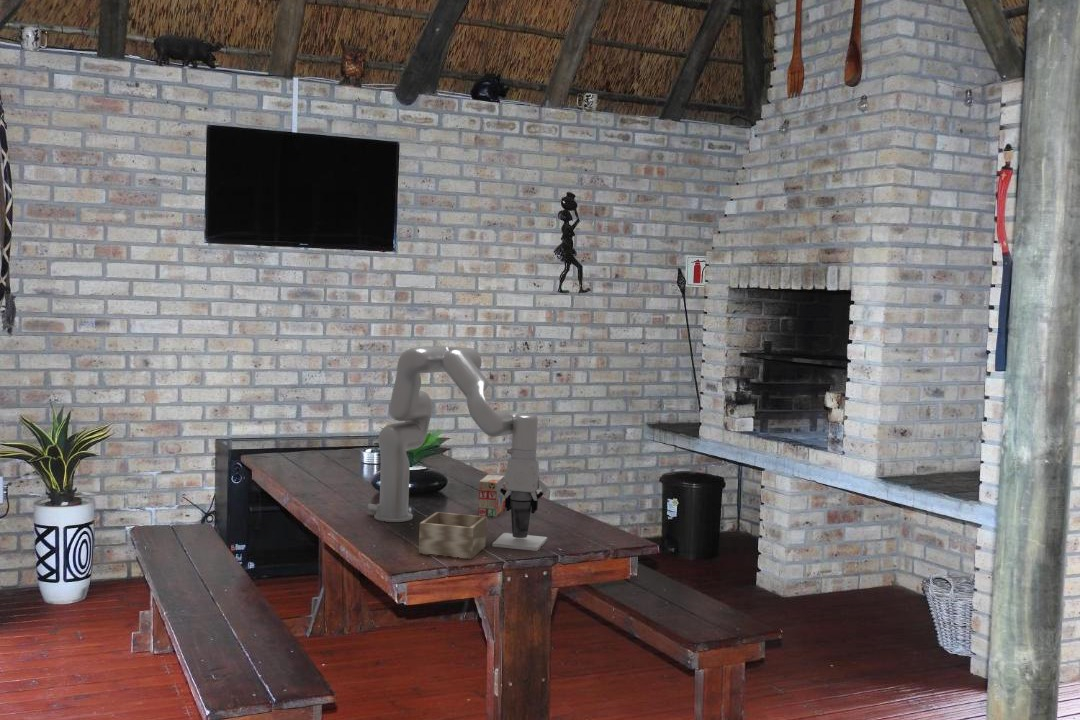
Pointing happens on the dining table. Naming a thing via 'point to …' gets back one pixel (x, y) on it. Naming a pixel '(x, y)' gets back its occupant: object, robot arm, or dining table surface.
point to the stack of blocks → (490, 496)
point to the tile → (520, 542)
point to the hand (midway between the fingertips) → (521, 510)
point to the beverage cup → (520, 513)
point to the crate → (453, 535)
